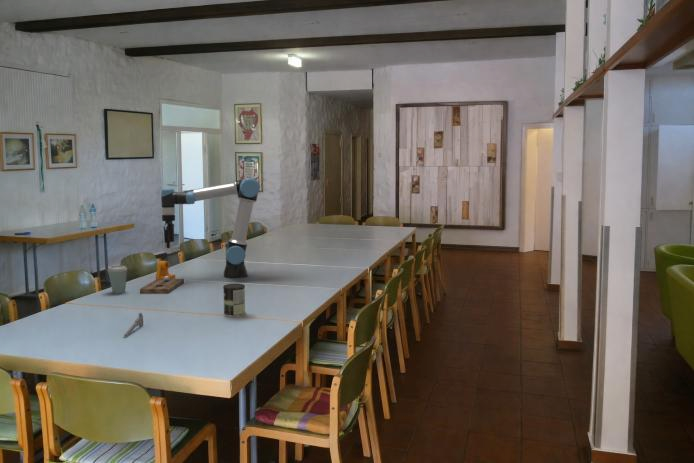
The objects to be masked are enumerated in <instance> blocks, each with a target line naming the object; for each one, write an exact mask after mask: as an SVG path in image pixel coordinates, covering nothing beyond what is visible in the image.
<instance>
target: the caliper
mask: <svg viewBox="0 0 694 463" xmlns="http://www.w3.org/2000/svg"><path fill="white" fill-rule="evenodd" d="M142 326H144V316H143V313H142V312H139V313H138V316H137V317H136V319H135V320H134V322H133V324H132V325H131V326H130V327H129V329H127V331H126V332H125V333H124V335H123V339H126V338H128V337H129V336H130V335H131V333H132V332H133V331H134V330H135V328H136V327H142Z"/></svg>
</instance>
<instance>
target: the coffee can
mask: <svg viewBox="0 0 694 463" xmlns="http://www.w3.org/2000/svg"><path fill="white" fill-rule="evenodd" d="M245 287H246V285H245V284H243V283H228V284H225V285H223V286H222V288H223V315H224V317H228V318H237V317H238V318H239V317H242V316H245V315H246V303H245V302H246V301H245V300H246V298H245V297H246V294H245V293H246V292H245V291H246V290H245V289H246V288H245Z"/></svg>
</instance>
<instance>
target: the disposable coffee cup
mask: <svg viewBox="0 0 694 463" xmlns="http://www.w3.org/2000/svg"><path fill="white" fill-rule="evenodd" d="M107 272H108V273H107V274H108V277H109V281H110V282H109V283H110V285H111V290H112V293H113V294H115V295H116V294H117V295H118V294H124V293H126V287H127V275H128V268H127V266H125V265H121V264H120V265H119V264H118V265H116V264H115V265H111V266H108V268H107Z"/></svg>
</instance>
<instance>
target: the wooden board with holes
mask: <svg viewBox="0 0 694 463" xmlns="http://www.w3.org/2000/svg"><path fill="white" fill-rule="evenodd" d="M183 284H185V278H174V279H169V281H164V279H156V278H155V280H153V281H151V282H149V283H148V284H145V285H144V286H143V287H141V288H139V294H154V295H155V294H159V295H160V294H161V295H162V294H165V295H166V294H170V293H171V292H173V291H174V290H175V289H177V288H178V287H180V286H182V285H183Z"/></svg>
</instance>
